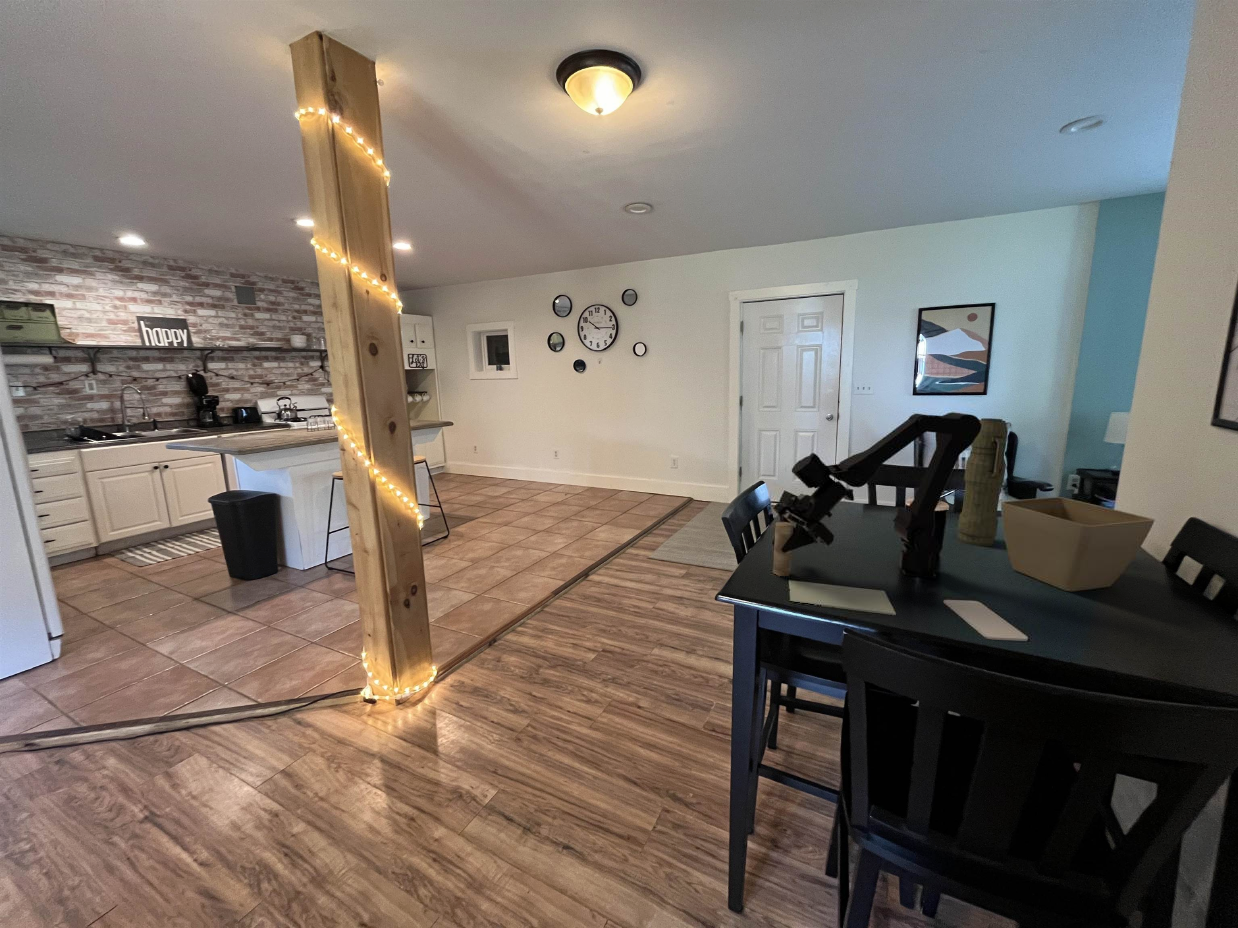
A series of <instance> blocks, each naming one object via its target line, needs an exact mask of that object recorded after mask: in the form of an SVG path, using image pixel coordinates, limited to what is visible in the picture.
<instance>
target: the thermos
mask: <svg viewBox="0 0 1238 928" xmlns="http://www.w3.org/2000/svg"><path fill="white" fill-rule="evenodd" d="M979 421H980V423H981V424H982V427H981V431H980V433H979V434H978V436H977V437H976V439H975V440H974V442H973V443H972V445H970V447H971V450H970V453H969V456H968V458H967V460H966V463H965V470H964V478H963V479H964V482H965V487H964V493H963V502H962V511H961V512H960V514H959V516H958V524H957V536H956V539H957V540H958V541H960V542H961V543H965V544H968V545H972V546H978V547H991V546H992V547H993V546H994V545H995V540H996V539H995V538H996V537H997V531H998V525H999V520H998V515H997V514H998V506H999V500H1000V493H1001V487H1002V486H1003V484H1004V482H1005V481H1004V480H1005V473H1006V466H1007V464H1006V459H1005V454H1006V453H1005V452H1006V447H1007V441H1008V440H1007V439H1008V432H1009V430H1008V426H1007V422H1006V420H1003V418H1002V419H1001V418H993V417H992V418H987V417H986V418H983V417H982V418H981V419H979Z"/></svg>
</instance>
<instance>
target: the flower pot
mask: <svg viewBox="0 0 1238 928" xmlns="http://www.w3.org/2000/svg"><path fill="white" fill-rule="evenodd" d="M1000 510H1001V511H1000V512H1001V513H1000V514H1001V523H1002V524H1001V525H1002V529H1003V536H1004V541H1005V546H1006V549H1007V553H1008V557H1009V561H1010V564H1011V566H1012V568H1013V570H1014V571H1016V572H1018V573H1021V574H1024V575H1026V576H1029V577H1031V578H1033V579H1035V580H1038V581H1041V582H1043V583H1045V584H1048V585H1051V586H1053V587H1055V588H1058V589H1061V590H1062V591H1067V592H1072V593H1073V592H1079V591H1087V590H1095V589H1101V588H1108V587H1111V586H1112V585H1113V584H1114V583H1115V582H1116V581H1117V580H1118V579H1119V577H1120V576H1121V575H1122V573H1123V572H1124V571H1125V570H1126V569H1127V567H1128V566H1129V565H1130V563H1131V562H1132V560H1133V559H1134V558H1135V556H1137V553H1138V552H1139V550H1140V549H1141V547H1142V545H1143V544H1144V542H1145V541H1146V539H1147V537H1148V534H1149V533H1150V531H1151V529H1152V527H1153V525H1154V522H1155V519H1154V518H1152V517H1147V516H1144V515H1143V516H1142V515H1138V514H1134V513H1130V512H1127V511H1122V510H1118V509H1114V508H1110V507H1105V506H1101V505H1096V504H1094V503H1093V504H1091V503H1088V502H1084V501H1079V500H1075V499H1072V498H1071V499H1070V498H1065V497H1060V496H1052V497H1041V498H1029V499H1018V500H1017V499H1016V500H1015V499H1014V500H1006V501H1001V502H1000Z"/></svg>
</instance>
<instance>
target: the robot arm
mask: <svg viewBox="0 0 1238 928" xmlns="http://www.w3.org/2000/svg"><path fill="white" fill-rule="evenodd" d="M979 420H980V418H978V417H977V416H975V415H974V414H968V413H962V412H955V411H951V412H948V413H946V414H943V415H934V414H922V413H917V412H916V413H913V414H912V415H910V416H909V417H908V418H907V419H906V420H905V421H903V423H902V424H900V425H898V426H897V427H896V428H894V429H893V430H892V431H890V432H888V434H887V435H885V436H884V437H882V438H881V439H880V440H878V441H877V442H875V444H873V445H871V446H870V447H869V448H868V449H866V450H864V451H862V452H861V451H860V452H858V453H855V454H853V455H851V456H848V457H847V458H845V459H843V460H841V461H840V462H839V463H837V464H831V465H830V464H829V465H826V464H825V463H824V462H823V461H822V460H821V458H820V456H819V455H817V454H816V453H814V452H812V453H810V454H809V455H807V456H805V457H804V458H802V459H798V461H797V462H796V463H795V464H794V465H793V467H792V468H791V473H792V474H793V475H794V476H796V478H797V479H798V480H799V481H800V482H801V483H803V484H804V485H805V486H806V488H808V489H812V488H814V489H815V490H814V491H813V493H812V494H811V495H809V494H804V493H800V494H799V495H796V494H794V493H792V492H789V491H787V490H785V489H784V490H783V492H782V494H781V496H780V499H779V500H778V502H777V503H776V504H775V505H774V506H773V508H772V509H773V511H774V512H775V513H776V514H777V515H778V517H779V522H787V523H791V524H793V535H792V536H791V537H790V538H789V540H788V541H787V542H786V543H785V545H784V546H783V547H782V549H781V551H782V552H783V553H786V552H789V551H791V550H792V551H794V550H797V549H800V548H802V547H804V546H805V547H806V546H808V545H813V544H817V543H818V541H817V539H819V541H820V543H821V544H823V545H825V546H826V547H828V548H829V547H830V546H831V545H832V544H833V543H834V542H835V534H833V533H832V532H831V530H830V529H829V528H828V527H827V526H826V525H825V524H824V523H823V522H822V521H823V520H824V519H825V518H826V517H827V518H829V519H830V518H831V517H832V516H833V514H832V512H831V511H832V510H834V508H835V507H836V506H837V505H838V504H839V503H840V502H841V501H842V500H843V499H844V500H847V501H852V502H854V501H855V497H854V489H852V488H847V487H846V485H848V486H850V487H853V488H861V487H863V486H865V485H866V484H868V482H869V481H871V479H872V478H873V477H875V475H876V474H877V473H878V471H879V469H880V467H881V466H882V465H883V464H885V462H888V461H889V460H890V459H891V458H892V457H894V456H895V455H896V454H898V453H899V452H901V451H902V450H903V449H905V448H906V447H907V446H908V445H910V444H911V443H912V442H914V441H916V440H917V439H919V437H921V436H922V435H924V434H925V433H935V450H934V452H933V455H932V457H931V460H930V461H929V464H928V466H927V468H926V471H925V473H924V474H923V477H922V479H921V482H920V484H919V487H918V488H917V491H916V493H915V495H914V498H913V500H912V502H911V503H910V504H909V505H908V506H907V507H905V508H904V507H902V506H899V508H898V509H897V513H896V516H895V518H893V520H892V522H894V525H893V529H894V531H895V533H896V534H897V535H898V536H899V538H900V542H901V543H904V544H903V546H902V549H900V551H899V558H898V566H899V568H900V569H901V570H902V572H903V574H904V575H906V576H911V577H913V576H914V577H923V578H932V579H935V578H937V574H935V563H936V555H940V553H941V551H942V549H943V545H942V544H941V543H940V542H939V541H938V540H937V539H936V538H935V537H934V531H935V527H936V519H935V516H936V515H935V512H936V509H937V506H938V504H939V501H940V499H941V497H942V495H943V493H944V490H945V488H946V487H947V484H948V482H949V479H950V477H951V475H952V473H953V471H954V469H955V466H956V464H957V461H958V460H959V457H960V455H961V454H962V453H963V452H964V451H966V450H967V449H968V448H969V447H971V445H972V443H973V442H974V440H975V439H976V437H977V436H978V434H979V433H980V431H981V427H982V424H981V423H980V421H979ZM832 477H833V478H835V480H834V479H833V478H832ZM836 480H837V481H836ZM842 482H843V483H845V484H846V485H844V484H843V483H842ZM771 544H772V546H773V547H774V545H775V537H774V538H773V540H772V543H771Z"/></svg>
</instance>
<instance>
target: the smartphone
mask: <svg viewBox="0 0 1238 928" xmlns="http://www.w3.org/2000/svg"><path fill="white" fill-rule="evenodd" d="M943 603H944V604H945V605H946V606H947V607H948V608H949V609H951V611H953V612H954V613H955V614H957V615H958V616H959V617H960V618H961V619H963V620H964V621H965V622H966V623H967V624H969V625H970V627H972V628H973V629H974V630H976V631H977V632H978V633H979V634H980V635H982V636H983V637H984V638H986V639H987V640H988V639H989V640H994V641H995V640H996V641H998V640H999V641H1017V642H1019V641H1021V642H1027V641H1028V639H1029V638H1028V636H1027V635H1026V634H1024V632H1022V631H1020V630H1019V629H1018V628H1016V627H1015V626H1013V625H1012V624H1010V623H1009V622H1007V621H1006V620H1005V619H1004V618H1002V617H1001V616H999V615H998V614H996V613H995V612H994V611H993V610H991V609H990V608H988V606H986V605H985V604H983V603H981V602H980V601H977V600H963V599H962V600H960V599H958V600H957V599H943Z"/></svg>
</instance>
